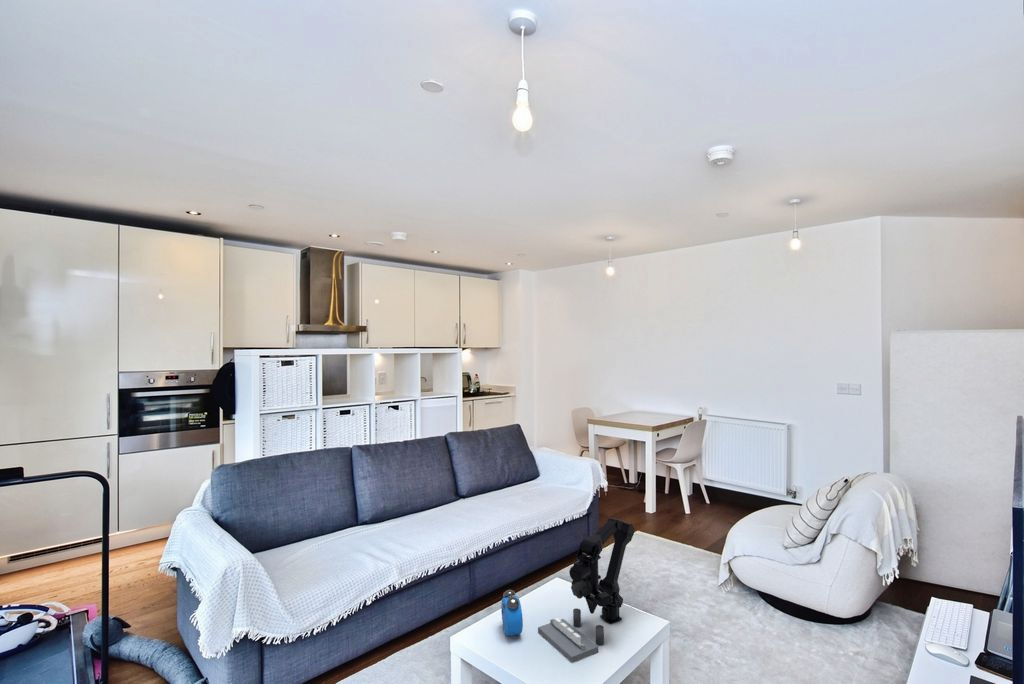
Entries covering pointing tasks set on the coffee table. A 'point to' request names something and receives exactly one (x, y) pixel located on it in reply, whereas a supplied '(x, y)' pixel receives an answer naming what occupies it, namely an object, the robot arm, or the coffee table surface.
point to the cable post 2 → (599, 635)
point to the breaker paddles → (567, 631)
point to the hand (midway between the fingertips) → (591, 613)
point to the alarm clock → (511, 614)
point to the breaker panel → (568, 642)
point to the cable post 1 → (577, 618)
